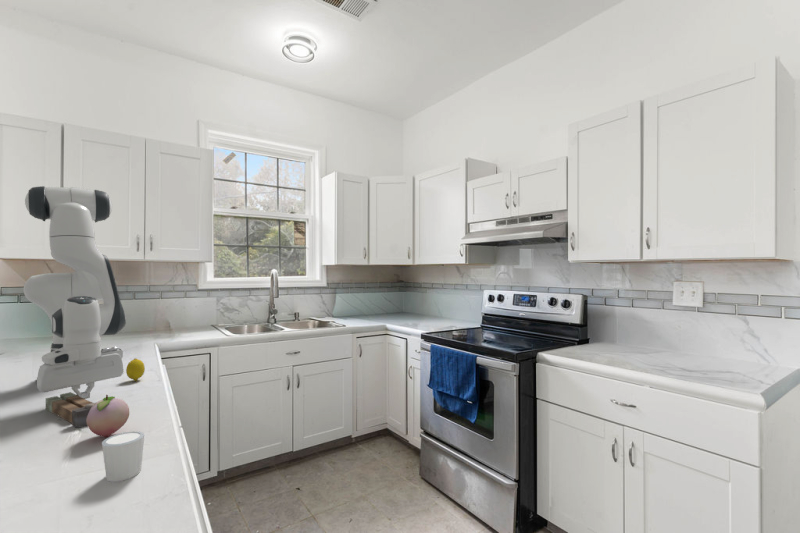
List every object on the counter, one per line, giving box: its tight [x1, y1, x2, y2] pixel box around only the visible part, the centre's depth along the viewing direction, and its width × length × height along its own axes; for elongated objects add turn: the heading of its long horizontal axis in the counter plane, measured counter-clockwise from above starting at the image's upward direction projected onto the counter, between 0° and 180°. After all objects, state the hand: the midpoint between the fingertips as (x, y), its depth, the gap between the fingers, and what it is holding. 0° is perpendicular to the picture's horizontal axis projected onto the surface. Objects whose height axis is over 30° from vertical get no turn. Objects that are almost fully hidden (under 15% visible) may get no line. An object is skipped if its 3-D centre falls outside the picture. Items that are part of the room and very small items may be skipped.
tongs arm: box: [59, 391, 95, 408], centre depth 114 cm, size 20×2×3 cm, turn 55°
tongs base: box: [45, 395, 95, 429], centre depth 111 cm, size 25×6×5 cm, turn 56°
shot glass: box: [101, 431, 145, 483], centre depth 78 cm, size 7×7×7 cm
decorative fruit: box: [86, 394, 130, 438], centre depth 96 cm, size 9×8×10 cm
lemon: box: [125, 358, 145, 382], centre depth 145 cm, size 6×6×8 cm
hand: (83, 398), depth 119 cm, fingers closed
